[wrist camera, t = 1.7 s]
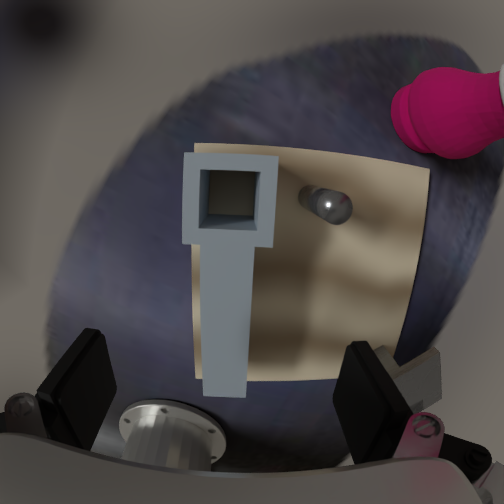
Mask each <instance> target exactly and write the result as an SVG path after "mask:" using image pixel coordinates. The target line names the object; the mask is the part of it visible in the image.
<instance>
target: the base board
mask: <svg viewBox="0 0 504 504" xmlns="http://www.w3.org/2000/svg"><path fill="white" fill-rule="evenodd" d="M194 153H233V154H254V155H270V156H279V160H278V177H277V193H276V208H275V223H274V237H273V248H270V247H255V249H254V266H253V283H252V300H251V317H250V334H249V351H248V367H247V381H293V380H317V379H333V378H338V376H339V373H340V369H341V365H342V361H343V358H344V354H345V350H346V347H347V345H350V344H351V342H352V341H367V342H368V343H369V345H370V346H371V348H372V349H373V350H374V349H376V348H378V347H380V346H382V345H383V346H384V347H385V348H386V350H387V351H388V352H389V354H390V355H391V356H392V358H393V356H394V353H395V349H396V346H397V343H398V340H399V336H400V333H401V330H402V326H403V323H404V319H405V315H406V311H407V308H408V304H409V300H410V295H411V291H412V287H413V282H414V278H415V273H416V268H417V263H418V258H419V253H420V247H421V241H422V235H423V228H424V221H425V213H426V205H427V196H428V186H429V173H430V169H426V168H422V167H417V166H412V165H407V164H402V163H397V162H392V161H386V160H381V159H375V158H369V157H362V156H356V155H349V154H342V153H334V152H326V151H317V150H308V149H298V148H287V147H275V146H261V145H242V144H214V143H195V147H194ZM254 185H255V171H236V170H210V183H209V212H208V214H225V215H249V216H253V203H254ZM307 185H313V186H318V187H322V188H326V189H331V190H335V191H339V192H343V193H345V194H346V195H347V196H348V197H349V198H350V199H351V201H352V205H353V211H352V214H351V217H350V218H349V219H348V220H347V221H346V222H345V223H343V224H340V225H333V224H330V223H328V222H327V221H325V220H323V219H322V218H320V217H318V216H317V215H315V214H314V213H312V212H310V211H309V210H307V209H305V208H304V207H302V206H301V205H300V203H299V200H298V194H299V191H300V190H301V189H302V188H303V187H304V186H307ZM192 307H193V336H194V356H195V374H196V379H203V378H202V355H201V322H200V245H196V244H192Z"/></svg>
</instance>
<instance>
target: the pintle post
mask: <svg viewBox="0 0 504 504" xmlns="http://www.w3.org/2000/svg"><path fill="white" fill-rule="evenodd" d="M298 200H299V203H300V205H301V206H302V207H304V208H305V209H307V210H309V211H310V212H312V213H314V214H315V215H317V216H318V217H320V218H322V219H323V220H325V221H327V222H328V223H330V224H333V225H340V224H343V223H345V222H346V221H347V220H348V219H349V218H350V217H351V214H352V211H353V205H352V201H351V199H350V198H349V197H348V196H347V195H346V194H345V193H343V192H339V191H335V190H331V189H326V188H322V187H318V186H313V185H307V186H304V187H303V188H302V189H301V190H300V191H299V194H298Z"/></svg>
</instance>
